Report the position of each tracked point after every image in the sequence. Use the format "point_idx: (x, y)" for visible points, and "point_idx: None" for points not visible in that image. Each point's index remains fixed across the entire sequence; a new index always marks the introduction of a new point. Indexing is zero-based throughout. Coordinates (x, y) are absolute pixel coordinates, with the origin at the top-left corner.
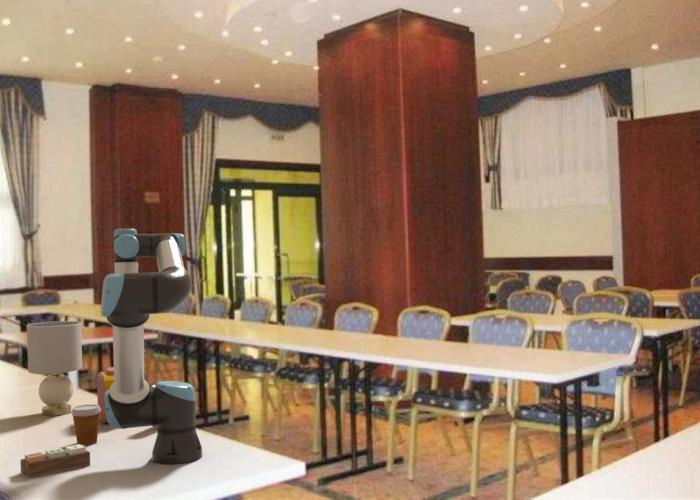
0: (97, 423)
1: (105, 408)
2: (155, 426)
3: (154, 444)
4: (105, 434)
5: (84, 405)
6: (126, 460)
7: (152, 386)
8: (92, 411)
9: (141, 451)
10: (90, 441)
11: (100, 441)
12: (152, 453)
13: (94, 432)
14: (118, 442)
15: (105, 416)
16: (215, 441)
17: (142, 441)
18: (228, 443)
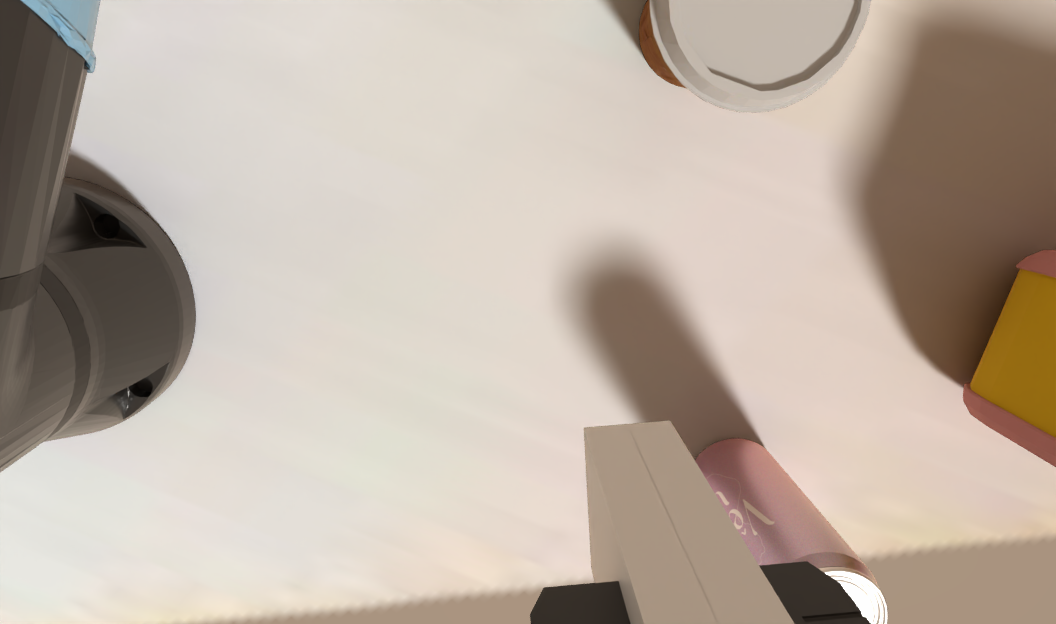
0: (669, 71)
1: (1052, 274)
2: (713, 446)
3: (57, 207)
4: (802, 185)
5: (858, 11)
6: (170, 69)
7: (864, 580)
8: (660, 10)
9: (303, 204)
10: (640, 28)
11: (669, 104)
12: (62, 183)
13: (649, 49)
14: (575, 177)
15: (1020, 265)
16: (255, 564)
17: (504, 288)
18: (179, 594)
